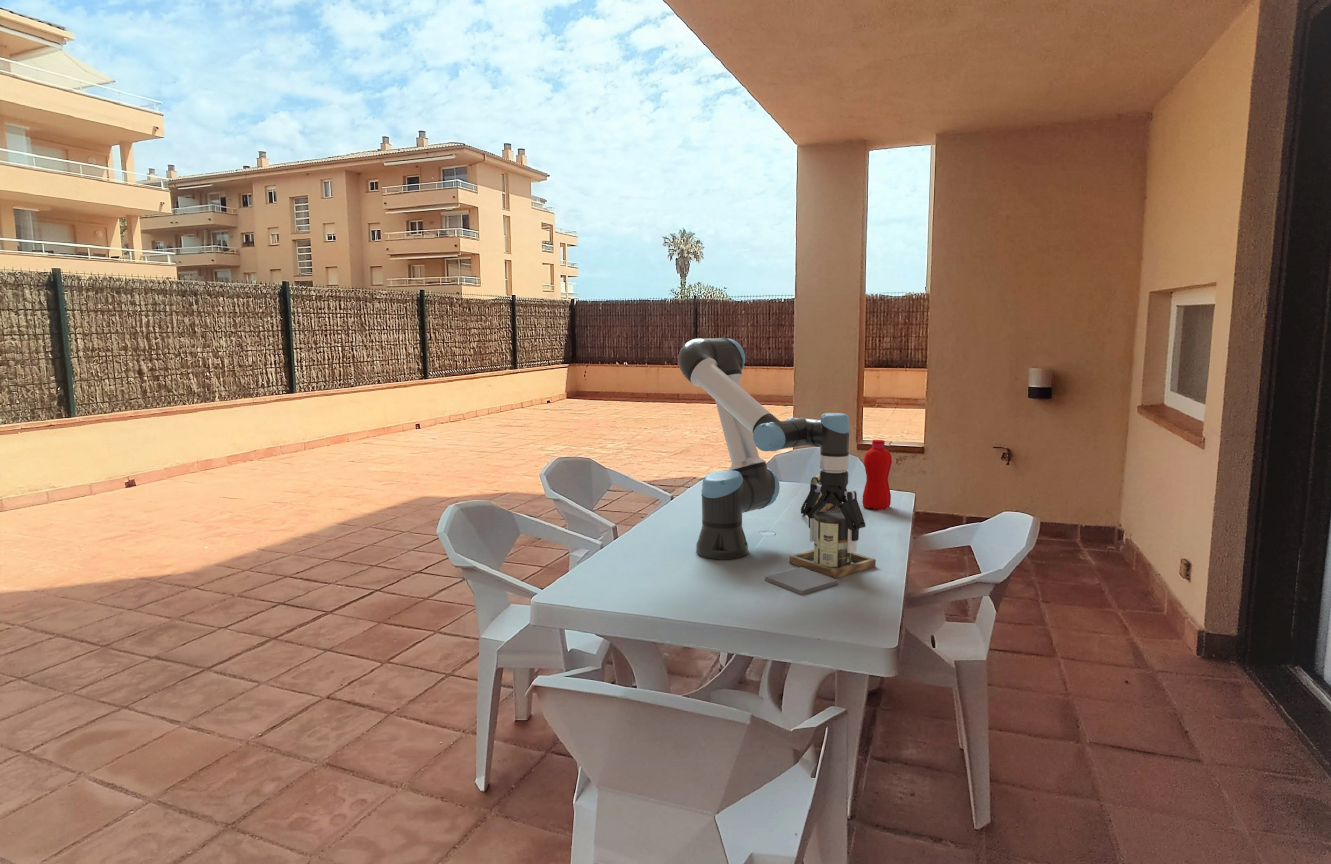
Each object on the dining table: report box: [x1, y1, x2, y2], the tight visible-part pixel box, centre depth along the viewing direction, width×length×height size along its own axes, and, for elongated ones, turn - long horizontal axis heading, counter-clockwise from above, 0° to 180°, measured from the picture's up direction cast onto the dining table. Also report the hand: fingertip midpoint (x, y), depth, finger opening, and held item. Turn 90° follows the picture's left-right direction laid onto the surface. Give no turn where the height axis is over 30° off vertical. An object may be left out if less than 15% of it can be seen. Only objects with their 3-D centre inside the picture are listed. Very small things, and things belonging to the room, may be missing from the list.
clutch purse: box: [800, 473, 835, 515], centre depth 259 cm, size 30×7×15 cm, turn 150°
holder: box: [788, 549, 877, 579], centre depth 199 cm, size 16×16×2 cm
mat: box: [764, 566, 839, 595], centre depth 185 cm, size 13×13×1 cm
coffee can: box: [813, 510, 852, 569], centre depth 198 cm, size 10×10×14 cm
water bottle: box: [861, 439, 893, 511], centre depth 263 cm, size 9×11×25 cm
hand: (832, 546), depth 198 cm, fingers open, 13 cm apart
